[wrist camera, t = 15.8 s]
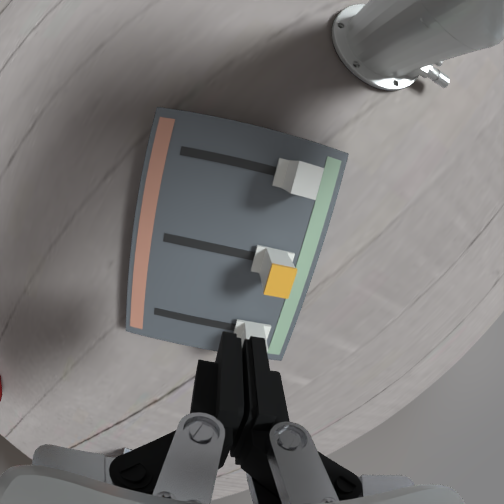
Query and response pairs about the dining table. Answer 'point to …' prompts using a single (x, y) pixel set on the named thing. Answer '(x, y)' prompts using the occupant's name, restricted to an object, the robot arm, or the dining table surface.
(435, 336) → the dining table surface
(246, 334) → the breaker handle
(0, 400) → the strawberry
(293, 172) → the block
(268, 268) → the block
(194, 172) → the breaker panel
